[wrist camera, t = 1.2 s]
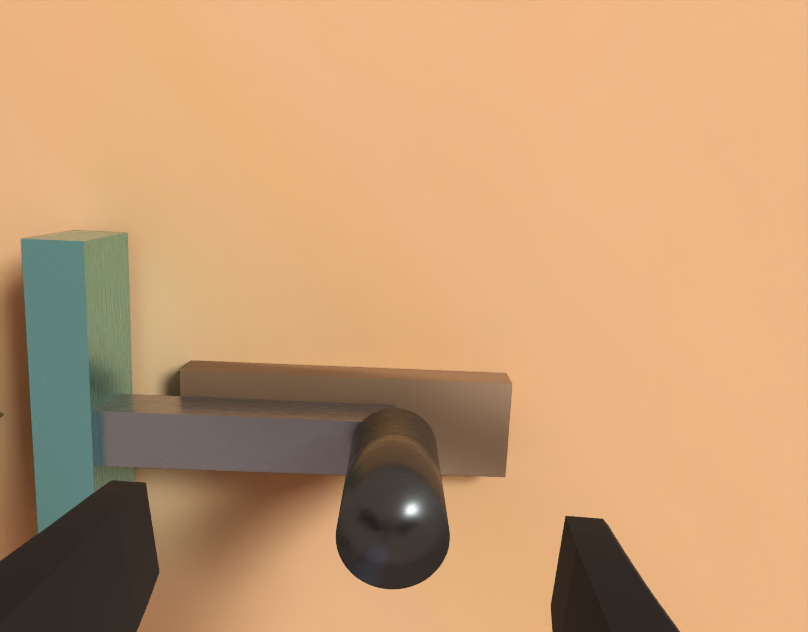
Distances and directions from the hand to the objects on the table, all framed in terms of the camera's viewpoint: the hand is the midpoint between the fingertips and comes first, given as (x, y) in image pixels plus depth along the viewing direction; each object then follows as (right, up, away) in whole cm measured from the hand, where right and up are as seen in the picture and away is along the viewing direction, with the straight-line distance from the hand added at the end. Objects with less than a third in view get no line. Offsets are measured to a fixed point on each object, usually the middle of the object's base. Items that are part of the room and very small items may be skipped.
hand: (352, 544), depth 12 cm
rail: (-1, +1, +11) cm, 11 cm away
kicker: (-4, +1, +11) cm, 11 cm away
